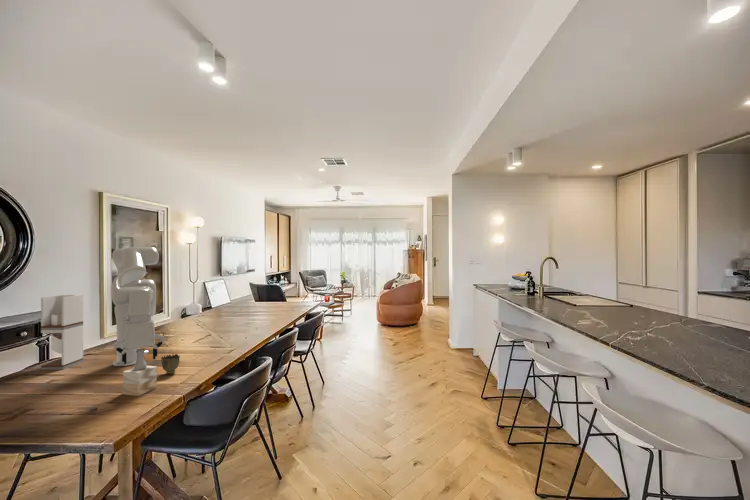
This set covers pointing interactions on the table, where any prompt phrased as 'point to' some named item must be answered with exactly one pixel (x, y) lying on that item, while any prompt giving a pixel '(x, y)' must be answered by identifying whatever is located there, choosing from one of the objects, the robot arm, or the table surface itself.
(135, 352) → the robot arm
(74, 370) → the table surface
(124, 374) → the tower top
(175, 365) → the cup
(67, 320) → the display case
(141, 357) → the rook chess piece
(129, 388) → the tower base
